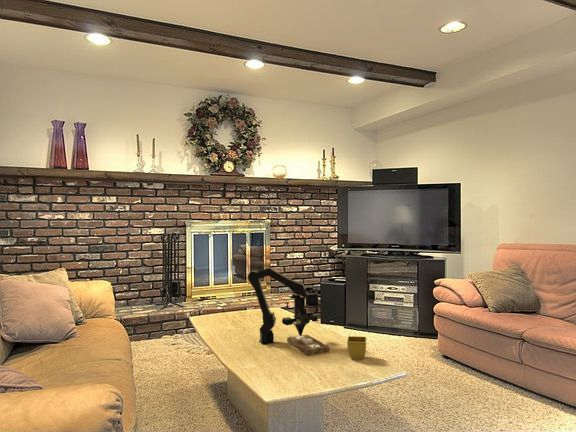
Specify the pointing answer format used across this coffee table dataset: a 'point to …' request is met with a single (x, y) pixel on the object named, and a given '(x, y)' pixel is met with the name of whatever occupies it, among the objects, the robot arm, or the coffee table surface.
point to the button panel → (308, 345)
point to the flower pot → (356, 347)
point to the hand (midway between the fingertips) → (300, 335)
